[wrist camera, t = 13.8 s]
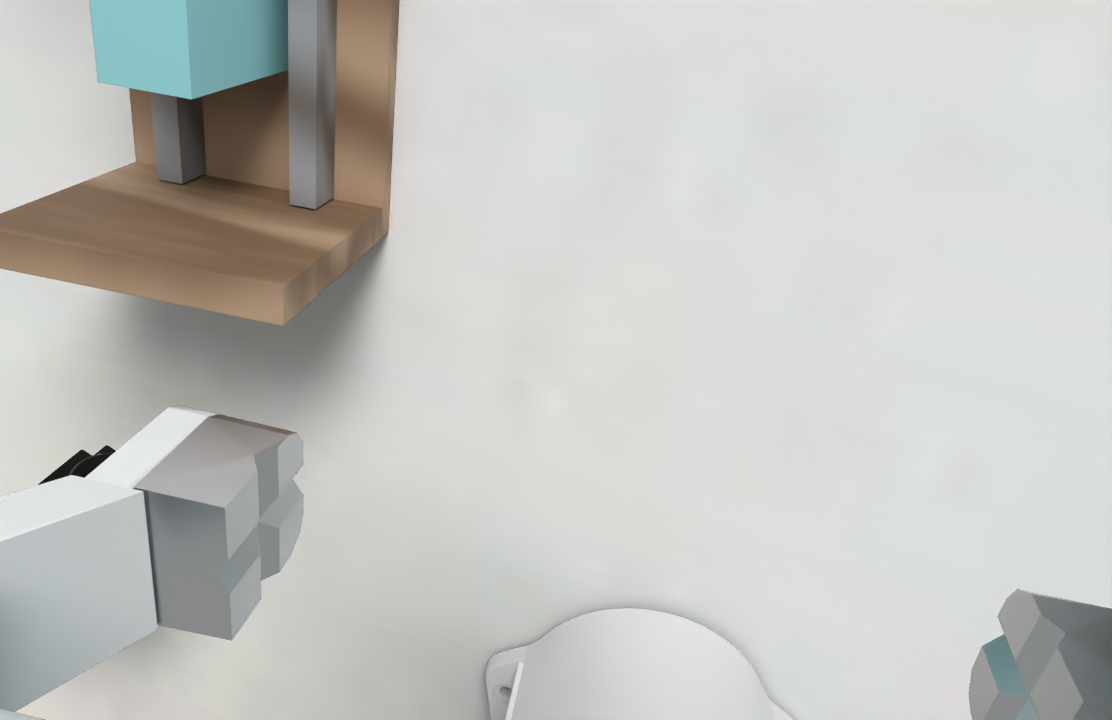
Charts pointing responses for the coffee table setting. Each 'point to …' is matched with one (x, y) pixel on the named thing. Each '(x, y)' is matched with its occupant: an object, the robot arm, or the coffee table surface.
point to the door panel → (188, 43)
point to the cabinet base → (238, 181)
